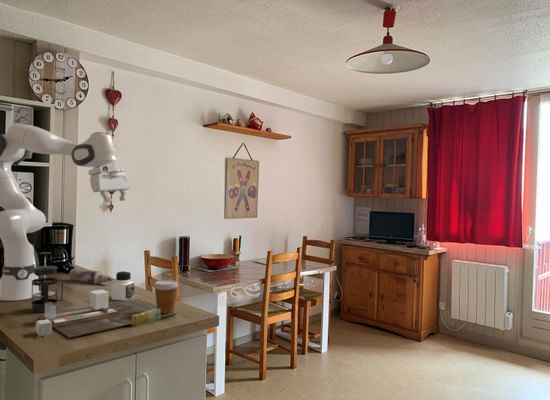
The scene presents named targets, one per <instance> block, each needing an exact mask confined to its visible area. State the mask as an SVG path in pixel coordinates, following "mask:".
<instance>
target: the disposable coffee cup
mask: <svg viewBox="0 0 550 400" xmlns="http://www.w3.org/2000/svg"><path fill="white" fill-rule="evenodd" d="M153 287H154V291H155V292H154V293H155V302H156V308H160V309H161V313H163V314H162V315H166V314H167V313H168V314H172V313H173V312H174V309H175V303H176V296H177V291H178V289H177V288H178V287H179V284H178V281H177V280H173V279H162V280H157V281H155V282H154V284H153ZM168 314H167V315H168Z"/></svg>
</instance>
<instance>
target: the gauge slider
mask: <svg viewBox="0 0 550 400" xmlns="http://www.w3.org/2000/svg"><path fill="white" fill-rule="evenodd" d="M109 293H110V292H109V291H107V290H104V289H97V290H89V303H88V304H89V306H88V307H91V308H93V309H95V310H97V309H101V310H103V311H105V312H108V310H107V309H105V308H108V307H109Z"/></svg>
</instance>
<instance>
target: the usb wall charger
mask: <svg viewBox="0 0 550 400" xmlns="http://www.w3.org/2000/svg"><path fill="white" fill-rule="evenodd" d="M35 332H36V334H37V335H38V336H39V337H43V336H47V335H51V334H52V332H53V326H52V323H51V322H50V321H49V320H48V319H45V320H43V319H40V320H37V321H36V322H35Z"/></svg>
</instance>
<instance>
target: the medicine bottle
mask: <svg viewBox="0 0 550 400" xmlns="http://www.w3.org/2000/svg"><path fill="white" fill-rule="evenodd" d="M131 276H132V275H131V272H130V271H125V270H124V271H123V270H121V271H118V272H117V273H116V275H115V278H116V279H115V281H116V282H113V283H112V284H111V298H110V299H111V300H114V301H121V302H123V301H128V300H130V299H133V298H135V281H131Z"/></svg>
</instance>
